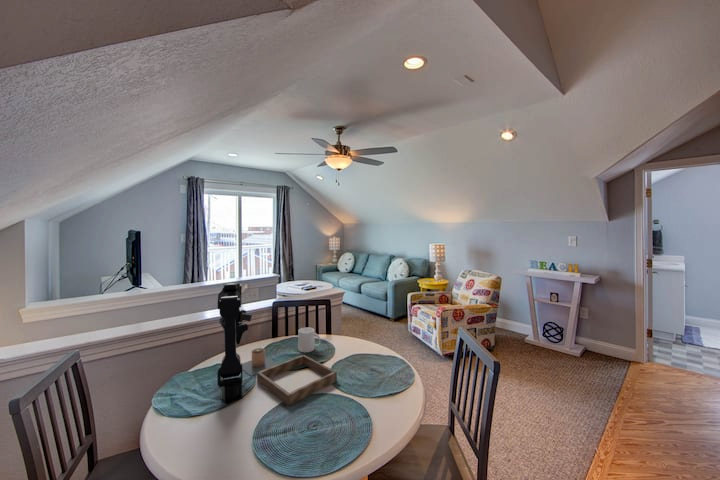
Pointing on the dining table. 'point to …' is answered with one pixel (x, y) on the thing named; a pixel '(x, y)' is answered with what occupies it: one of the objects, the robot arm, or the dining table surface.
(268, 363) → the mat
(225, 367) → the robot arm
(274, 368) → the frame
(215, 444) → the dining table surface
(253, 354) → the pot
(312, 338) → the mug
